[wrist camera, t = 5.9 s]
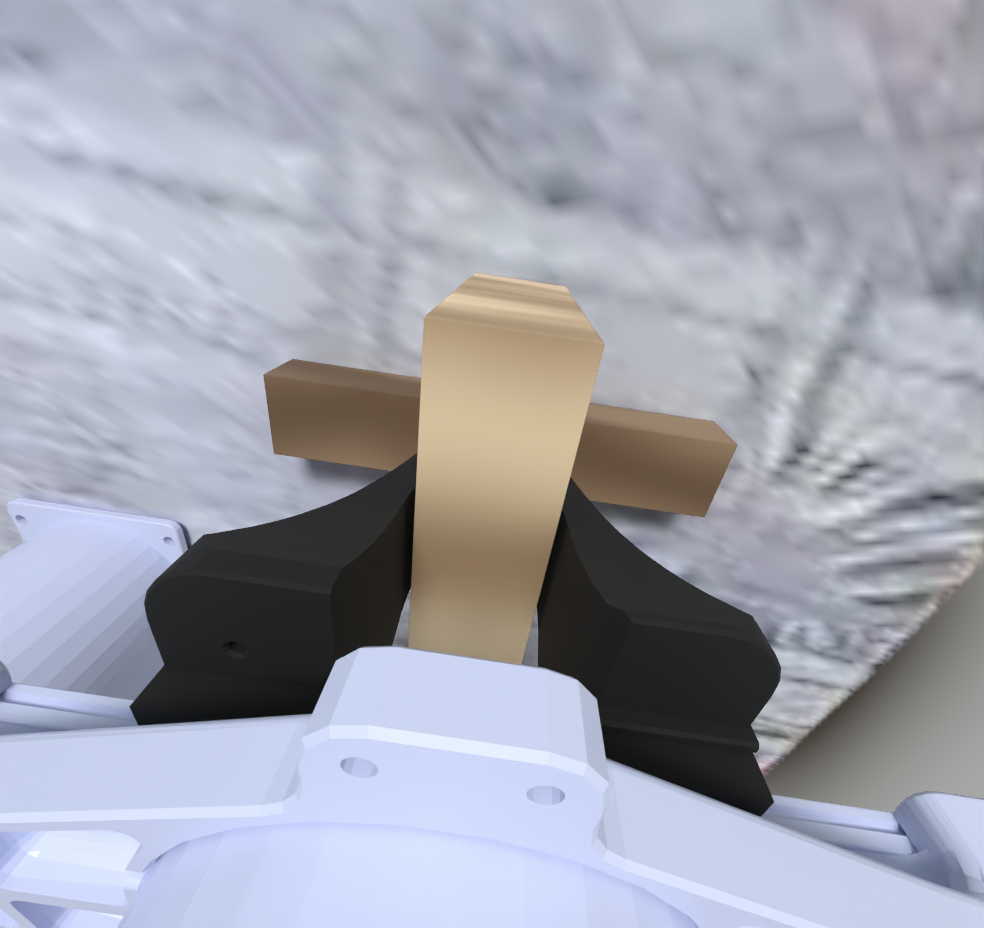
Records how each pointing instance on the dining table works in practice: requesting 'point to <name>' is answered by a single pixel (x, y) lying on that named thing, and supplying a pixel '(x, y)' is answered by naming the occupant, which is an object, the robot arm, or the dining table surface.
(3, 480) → the dining table surface
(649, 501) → the walnut rail
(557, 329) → the beveled light wood block
